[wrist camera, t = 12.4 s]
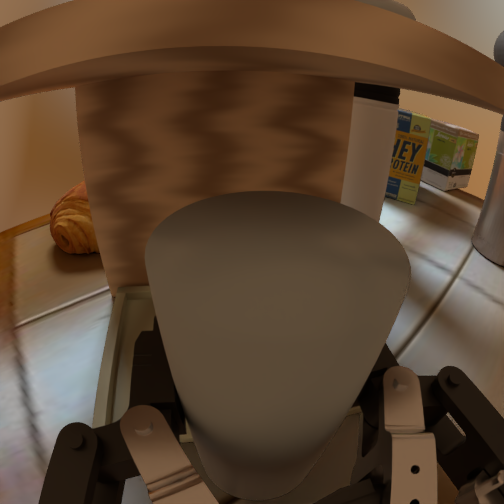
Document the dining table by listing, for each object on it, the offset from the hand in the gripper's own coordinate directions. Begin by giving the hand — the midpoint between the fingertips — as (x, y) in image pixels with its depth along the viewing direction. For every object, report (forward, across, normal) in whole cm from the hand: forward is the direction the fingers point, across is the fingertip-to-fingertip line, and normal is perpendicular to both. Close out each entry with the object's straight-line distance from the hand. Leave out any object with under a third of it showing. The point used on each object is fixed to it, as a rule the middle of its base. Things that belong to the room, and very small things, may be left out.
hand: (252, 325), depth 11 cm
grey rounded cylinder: (-2, 0, +7) cm, 7 cm away
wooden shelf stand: (+6, 0, +9) cm, 11 cm away
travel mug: (+20, -16, +9) cm, 28 cm away
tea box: (+45, -55, +10) cm, 71 cm away
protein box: (+39, -35, +10) cm, 53 cm away
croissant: (+27, +13, +10) cm, 32 cm away
